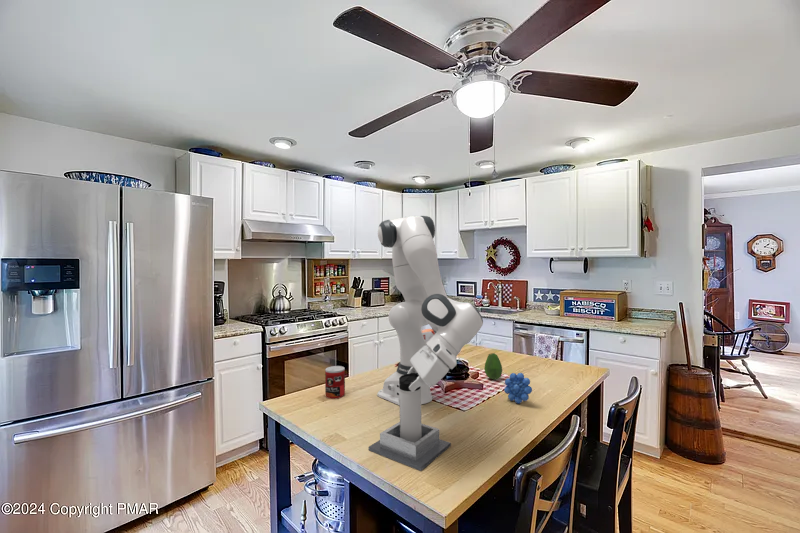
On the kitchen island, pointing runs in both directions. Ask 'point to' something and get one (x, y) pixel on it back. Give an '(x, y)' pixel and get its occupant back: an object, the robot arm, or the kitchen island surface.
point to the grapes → (517, 387)
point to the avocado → (493, 367)
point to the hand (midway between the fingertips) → (407, 385)
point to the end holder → (410, 447)
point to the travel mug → (410, 409)
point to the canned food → (334, 382)
